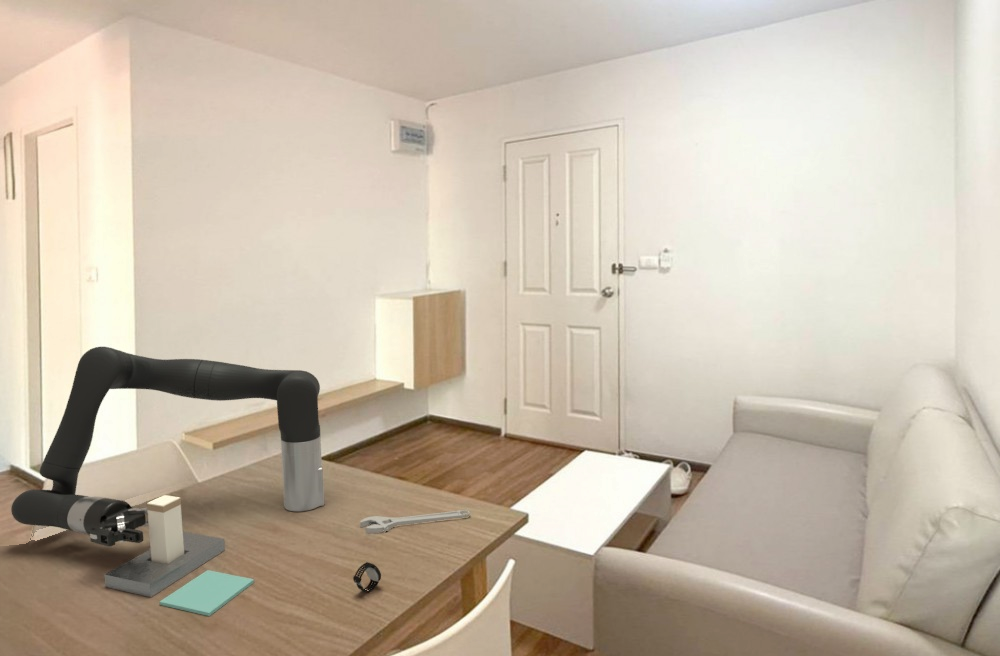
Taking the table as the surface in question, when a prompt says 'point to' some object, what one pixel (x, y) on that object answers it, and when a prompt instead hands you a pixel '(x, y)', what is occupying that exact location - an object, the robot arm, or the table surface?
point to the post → (165, 529)
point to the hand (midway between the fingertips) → (160, 527)
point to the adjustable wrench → (406, 520)
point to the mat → (207, 592)
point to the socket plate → (163, 566)
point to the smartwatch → (372, 574)
